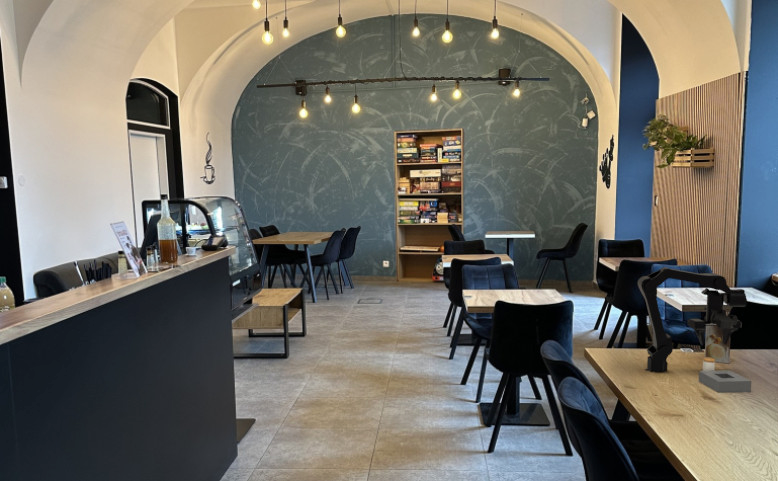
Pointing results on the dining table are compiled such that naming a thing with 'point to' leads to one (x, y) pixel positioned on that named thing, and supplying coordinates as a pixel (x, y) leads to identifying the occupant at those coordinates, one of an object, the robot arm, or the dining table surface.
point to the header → (724, 381)
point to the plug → (708, 364)
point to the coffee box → (716, 345)
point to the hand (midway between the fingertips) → (713, 344)
